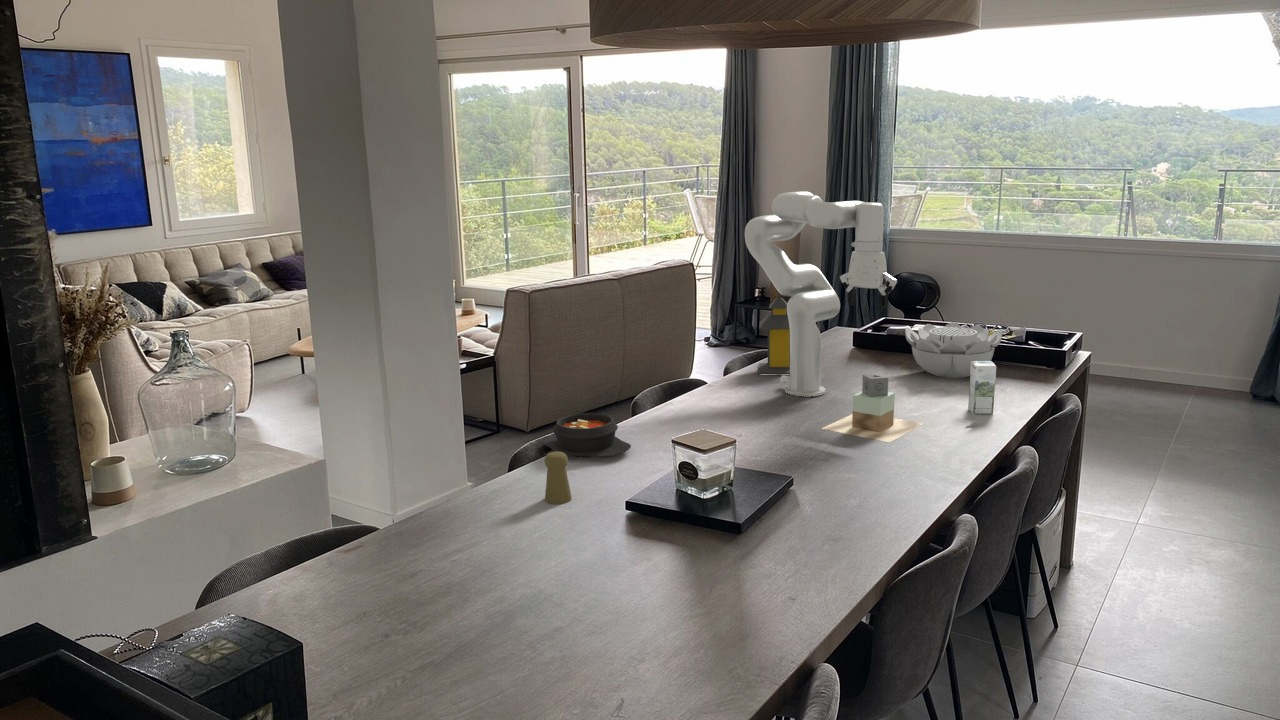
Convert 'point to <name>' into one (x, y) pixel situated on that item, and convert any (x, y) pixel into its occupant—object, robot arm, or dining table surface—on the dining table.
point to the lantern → (777, 339)
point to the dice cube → (875, 385)
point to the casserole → (586, 436)
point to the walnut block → (872, 421)
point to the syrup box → (982, 387)
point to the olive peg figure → (557, 479)
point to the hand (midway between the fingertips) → (867, 307)
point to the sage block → (873, 403)
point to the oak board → (886, 435)
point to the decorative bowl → (951, 348)
